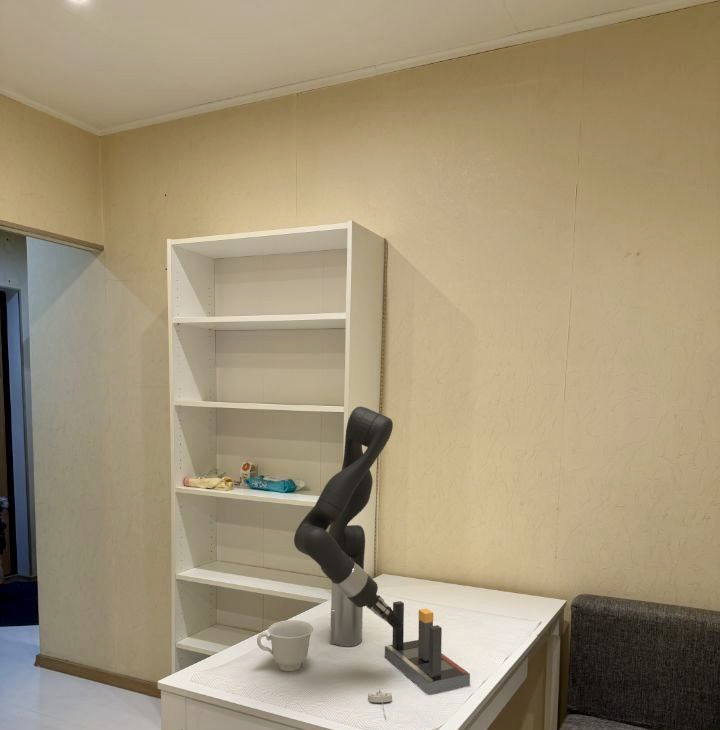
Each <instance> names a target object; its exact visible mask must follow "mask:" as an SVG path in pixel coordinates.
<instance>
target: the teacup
mask: <svg viewBox="0 0 720 730" xmlns="http://www.w3.org/2000/svg"><path fill="white" fill-rule="evenodd" d="M313 631H314V627H313V626H312V625H311V624H310V623H309V622H307V621H303V620H295V619H290V620H289V619H287V620H282V621H281V620H280V621H277V622H274V623H273V624H271V625H269V627H268V628H267V632H266V631H261V632H260V633H259V634H258V635H257V638H256V642H257V647H259V648H260V649H261V650H262V651H265V652H269V653H270V654H271V655H272V657H273V659H274V661H275V662H276V663H277V664H278V665H279V666H278V668H279V669H280V670H281V671H284V672H295V671H298V670H300V669H301V667H302V666H301V665H302V664H301V663H303V662H305V660H306V659H307V658H308V657H307V656H308V653H309V647H310V639H311V634H312V633H313ZM268 633H269V634H268ZM264 637H265V639H266V640H267V642H270V641H271V648H270V647H267V646H265V645H263V644H262V642H261V639H263V638H264Z"/></svg>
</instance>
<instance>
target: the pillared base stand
mask: <svg viewBox="0 0 720 730" xmlns="http://www.w3.org/2000/svg"><path fill="white" fill-rule="evenodd" d="M392 610H393V612H394V613H395V617H396V618H397V619H398V620H399V621H400V622H401V626H400V627H399V628H398V630H395V629H394V628H393V627H392V644H389V645H385V646H384V658H385V659H386V660H387V661H388V662H390V663H391V665H393V666H394V667H395V668H396V669H398V670H399V671H400V672H401V673H402V674H403V675H405V676H406V677H407V678H408V679H409V680H410V681H412V682H413V683H414V684H415V685H416V686H417V687H418V688H419V689H421V690H422V691H423V692H424V693H425V694H427V695H428V696H431V695H436V694H440V693H445V692H449V691H453V690H457V689H463V688H465V687H467V688H468V687H470V686H471V673H470V672H468V671H467V670H466V669H464V668H463V667H461V665H459V664H457V663H456V662H454V661H453V660H452V659H450V658H449V657H447V656H446V655H445V654H443V653H442V640H443V639H442V637H443V635H442V634H443V633H442V630H443V629H442V627H441V626H440V625H433V626H430V627H429V660H427V661H424V660H423V659H421V658H420V657H419V656H418V641H419V639H415V640H411V641H410V640H409V641H405V642H404V635H405V634H404V633H405V632H404V628H405V626H404V625H405V624H404V620H405V619H404V618H405V616H404V615H405V603H404V602H403V601H401V600H400V601H393V602H392Z"/></svg>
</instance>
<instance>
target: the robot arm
mask: <svg viewBox="0 0 720 730" xmlns="http://www.w3.org/2000/svg"><path fill="white" fill-rule="evenodd" d="M393 428H394V425H393V420H392V418H390V417H388V416H386V415H384V414H382V413H380V412H379V413H378V412H377V411H374V410H373V409H370V408H368V407H365V406H357V407H356V408H354V409H353V410H352V411H351V412H350V415H349V417H348V420H347V424H346V429H345V435H344V436H345V437H344V438H345V439H344V448H343V449H344V450H343V460H342V466H341V470H340V471H338V472H337V473H335V475H333V476H332V477H331V478H330V479H329V480H328V481H327V482H326V484H325V485H324V487H323V489H322V491H321V493H320V494H319V497H318V499H317V501H316V502H315V505H314V506H313V507H312V509H310V511H309V512H308V513H307V515H306V516H304V518H303V520H302V521H301V522H300V523H299V525H298V527H296V528H297V529H296V531H295V533H294V538H293V543H294V547H295V548H296V550H297V551H298V552H300V553H302V554H304V555H307V556H309V557H310V558H311V559H312V560H313V561H315V563H317V564H318V565H319V566H320V570H322V572H323V574H324V575H325V576H326V577H327V578H328V579H329V580H331V599H330V600H331V601H330V602H331V605H330V631H329V633H330V637H329V638H330V639H329V643H330V644H331V645H336V646H340V647H353V646H357V645H360V644H361V643H362V642H363V617H364V616H363V608H364V607H366V608H368V609H369V610H370V611H371V612H372V613H374V614H375V615H376V616H378V617H379V618H380V619H381V620H384V621H385V622H386V623H387V624H389V625H390V626H391V627H392V629H393V628H394V629H395V630H398V628H399V627H400V626H401V622H400V621H399V620H398V619H397V618H396V617H395V613H394V612H393V608H392V607H391V606H389V605H388V604H387V602H385V599H384V598H383V597H382V596H380V595H378V594H377V593H378V589H379V587H378V584H377V582H376V581H375V580H374V579H373V578H372V577H371V576H370V575H369V574H368V573H367V571H365V554H366V553H365V550H366V534H365V530H364V528H363V527H362V526H361V525H359V524H356V525H355V524H352V525H351V524H349V523H350V522H351V521H352V520H353V519H354V518H355V517H357V515H358V514H360V512H362V511H363V510H364V509H365V507H366V506H367V505H368V503H369V502H370V498H371V493H372V489H373V485H374V484H373V483H374V482H373V481H374V480H373V475H372V472H371V468H372V466H373V465H374V463H375V461H377V459H378V457H379V455H380V454H381V453H382V451H383V450H384V448H385V447H386V445H387V443H388V441H389V440H390V437H391V436H392V431H393ZM363 446H364V447H365V448H366V450H364V452H363ZM328 528H329V529H328ZM327 530H328V531H327Z"/></svg>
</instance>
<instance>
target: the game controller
mask: <svg viewBox="0 0 720 730" xmlns="http://www.w3.org/2000/svg"><path fill="white" fill-rule="evenodd" d="M367 700H368V701H369V702H370V703H381V704H382V708H383V709H382V710H383V711H385V707H384V703H390V702H392V701H393V693H392V692H385V693H384V692H383V691H381V690H380V689H378V691H376V693H372V692H371V693H368V694H367ZM384 717H385V719H387V717H386V715H384Z"/></svg>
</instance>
